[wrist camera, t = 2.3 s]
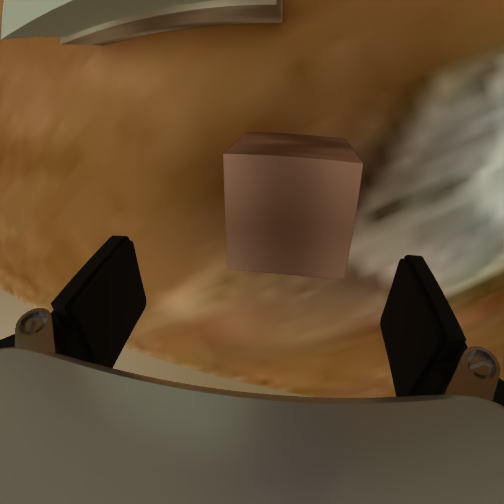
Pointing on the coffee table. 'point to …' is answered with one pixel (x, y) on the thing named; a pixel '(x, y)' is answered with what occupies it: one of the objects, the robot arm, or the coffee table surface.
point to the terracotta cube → (290, 203)
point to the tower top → (71, 15)
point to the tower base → (180, 20)
